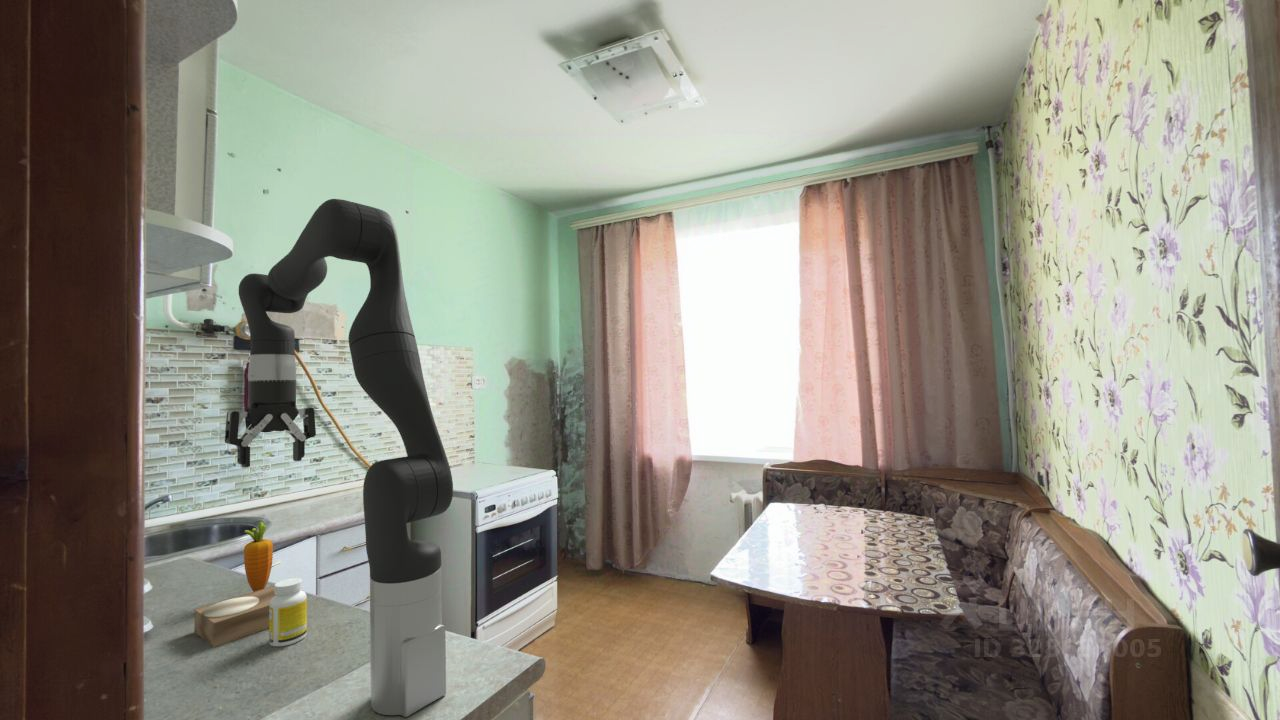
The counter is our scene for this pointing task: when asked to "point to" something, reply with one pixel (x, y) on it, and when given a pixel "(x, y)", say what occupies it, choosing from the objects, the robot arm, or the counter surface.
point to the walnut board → (234, 617)
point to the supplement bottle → (287, 613)
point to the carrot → (258, 558)
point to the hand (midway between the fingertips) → (272, 463)
